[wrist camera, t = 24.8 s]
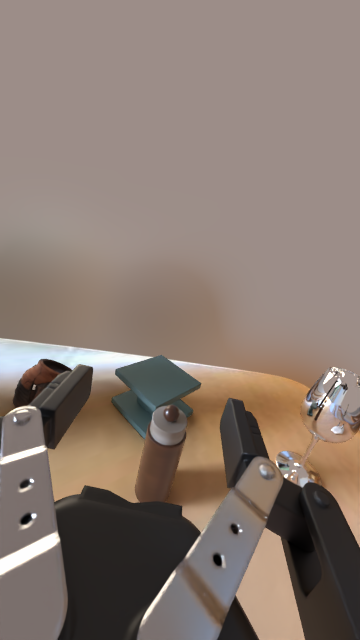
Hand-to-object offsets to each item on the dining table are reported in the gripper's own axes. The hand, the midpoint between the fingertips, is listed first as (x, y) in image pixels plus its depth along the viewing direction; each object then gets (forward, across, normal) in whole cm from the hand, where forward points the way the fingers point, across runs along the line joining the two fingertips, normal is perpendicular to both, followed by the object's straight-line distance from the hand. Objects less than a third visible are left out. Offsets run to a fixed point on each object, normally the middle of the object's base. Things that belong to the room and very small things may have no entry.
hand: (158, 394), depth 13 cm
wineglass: (+19, -27, +25) cm, 42 cm away
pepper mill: (+11, -2, +25) cm, 28 cm away
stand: (+27, +1, +25) cm, 37 cm away
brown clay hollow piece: (+23, +21, +26) cm, 40 cm away
